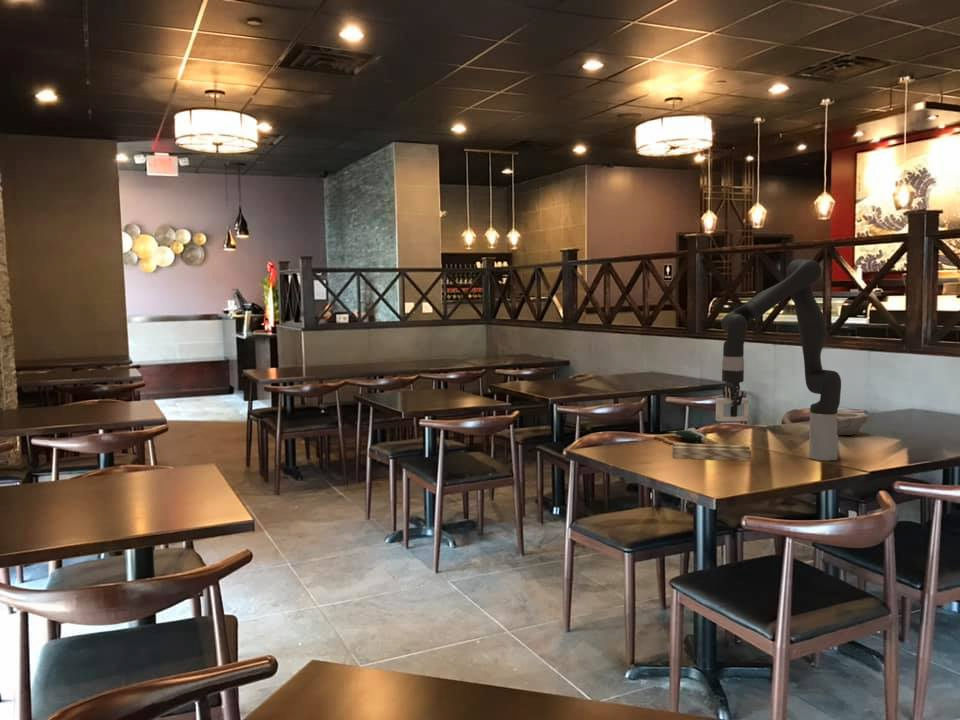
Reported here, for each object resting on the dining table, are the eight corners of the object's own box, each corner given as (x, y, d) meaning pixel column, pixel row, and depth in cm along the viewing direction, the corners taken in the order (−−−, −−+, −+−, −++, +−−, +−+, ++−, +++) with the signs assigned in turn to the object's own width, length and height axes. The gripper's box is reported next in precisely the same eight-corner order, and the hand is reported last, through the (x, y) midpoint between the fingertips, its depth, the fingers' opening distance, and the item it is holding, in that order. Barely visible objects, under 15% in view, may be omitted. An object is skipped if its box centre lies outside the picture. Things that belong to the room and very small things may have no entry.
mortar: (812, 432, 334) (813, 412, 334) (842, 430, 340) (843, 410, 339) (842, 439, 318) (842, 417, 318) (873, 436, 324) (873, 415, 323)
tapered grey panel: (744, 419, 275) (744, 397, 275) (748, 420, 272) (748, 398, 272) (715, 419, 274) (716, 398, 274) (719, 421, 271) (719, 399, 271)
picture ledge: (749, 456, 284) (749, 446, 284) (751, 461, 275) (751, 450, 275) (673, 453, 292) (673, 443, 292) (672, 458, 283) (672, 447, 282)
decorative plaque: (733, 431, 301) (692, 434, 293) (733, 449, 301) (692, 453, 294) (685, 420, 329) (647, 423, 322) (685, 436, 330) (647, 440, 322)
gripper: (715, 367, 278) (714, 413, 280) (731, 370, 265) (730, 419, 266) (734, 367, 279) (733, 413, 280) (751, 370, 265) (750, 418, 267)
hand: (731, 415), depth 273 cm, fingers closed on tapered grey panel, 2 cm apart
